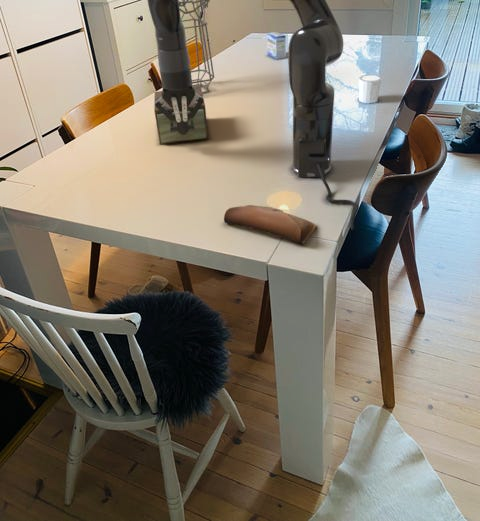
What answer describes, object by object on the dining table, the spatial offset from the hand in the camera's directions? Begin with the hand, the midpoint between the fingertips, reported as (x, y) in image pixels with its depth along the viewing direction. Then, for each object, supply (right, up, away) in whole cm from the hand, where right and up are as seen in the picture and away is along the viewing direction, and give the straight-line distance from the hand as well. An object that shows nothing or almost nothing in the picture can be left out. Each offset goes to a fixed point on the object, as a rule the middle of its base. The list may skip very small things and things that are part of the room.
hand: (183, 134), depth 133 cm
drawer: (-2, +3, +12) cm, 12 cm away
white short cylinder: (+56, +17, +27) cm, 64 cm away
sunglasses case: (+21, -27, -28) cm, 44 cm away
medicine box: (+30, +50, +73) cm, 93 cm away
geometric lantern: (-1, +26, +45) cm, 52 cm away
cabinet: (-2, +5, +16) cm, 16 cm away
